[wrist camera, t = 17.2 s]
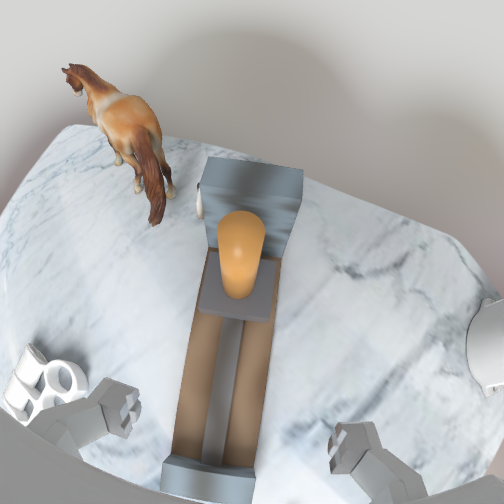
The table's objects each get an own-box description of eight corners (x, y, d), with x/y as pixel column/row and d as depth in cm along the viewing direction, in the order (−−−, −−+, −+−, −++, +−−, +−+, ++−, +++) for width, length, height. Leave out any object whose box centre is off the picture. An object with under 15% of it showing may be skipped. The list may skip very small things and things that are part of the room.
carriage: (273, 269, 36) (296, 201, 23) (267, 323, 33) (290, 282, 20) (211, 259, 36) (200, 187, 23) (200, 312, 33) (178, 264, 20)
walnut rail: (282, 234, 42) (303, 166, 28) (248, 489, 26) (257, 545, 12) (209, 223, 42) (201, 152, 29) (163, 474, 26) (125, 519, 13)
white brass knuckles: (44, 329, 33) (110, 392, 30) (4, 409, 25) (63, 474, 23) (32, 324, 30) (99, 393, 27) (-8, 408, 22) (51, 478, 20)
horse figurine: (91, 145, 49) (60, 66, 30) (122, 127, 51) (99, 46, 33) (161, 247, 40) (116, 142, 21) (203, 218, 42) (188, 104, 24)
